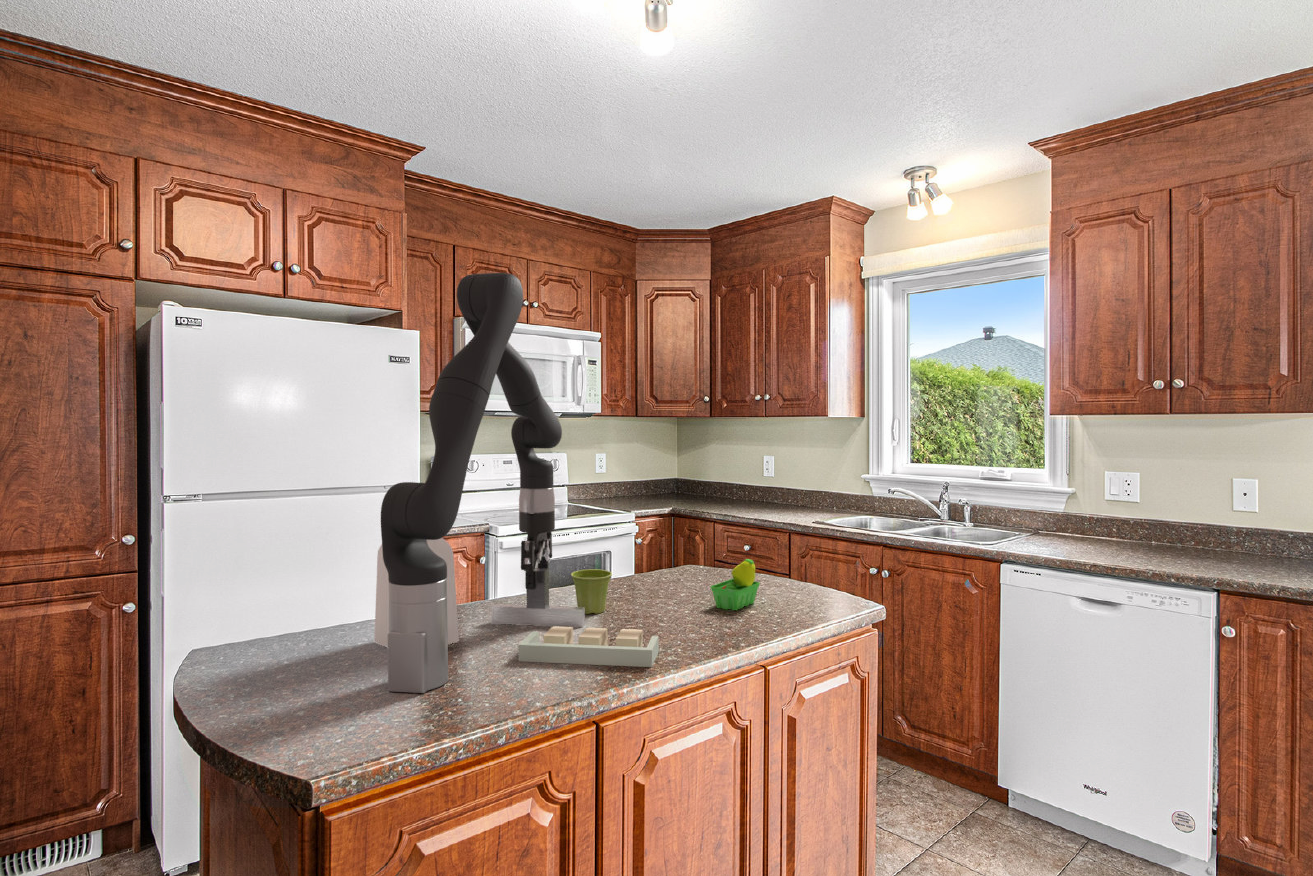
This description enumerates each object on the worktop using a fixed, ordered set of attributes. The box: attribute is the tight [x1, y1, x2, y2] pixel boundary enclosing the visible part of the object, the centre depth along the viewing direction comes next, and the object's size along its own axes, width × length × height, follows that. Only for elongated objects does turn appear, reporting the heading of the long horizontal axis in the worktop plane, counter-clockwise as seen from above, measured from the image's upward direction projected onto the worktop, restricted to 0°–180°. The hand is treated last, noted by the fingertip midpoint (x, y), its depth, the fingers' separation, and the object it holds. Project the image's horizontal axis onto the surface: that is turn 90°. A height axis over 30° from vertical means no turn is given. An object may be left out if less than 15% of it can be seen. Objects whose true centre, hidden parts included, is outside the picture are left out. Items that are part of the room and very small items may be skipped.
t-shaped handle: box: [491, 567, 586, 628], centre depth 152 cm, size 3×20×12 cm, turn 82°
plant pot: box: [570, 568, 613, 615], centre depth 163 cm, size 9×9×9 cm
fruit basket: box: [710, 558, 761, 611], centre depth 167 cm, size 11×9×11 cm
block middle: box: [577, 627, 609, 646], centre depth 133 cm, size 6×4×4 cm, turn 170°
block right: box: [615, 628, 644, 647], centre depth 132 cm, size 6×4×4 cm, turn 172°
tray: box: [517, 630, 660, 668], centre depth 131 cm, size 8×24×3 cm, turn 82°
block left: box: [542, 626, 574, 644], centre depth 134 cm, size 6×4×4 cm, turn 172°
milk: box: [373, 537, 460, 649], centre depth 140 cm, size 12×12×26 cm
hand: (537, 584), depth 152 cm, fingers open, 8 cm apart
